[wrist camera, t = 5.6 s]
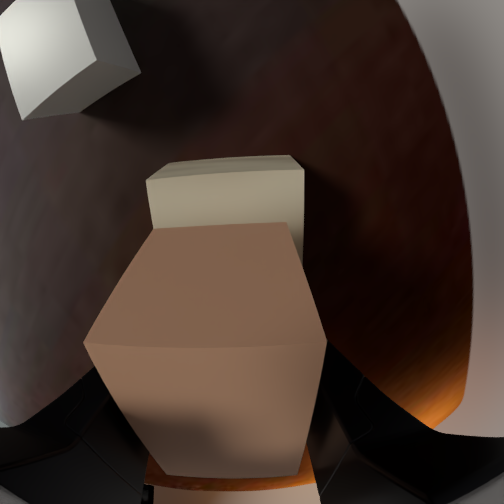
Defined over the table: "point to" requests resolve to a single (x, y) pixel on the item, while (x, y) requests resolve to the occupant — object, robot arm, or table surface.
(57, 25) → the grey brick
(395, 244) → the table surface
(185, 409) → the terracotta brick
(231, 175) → the birch brick
